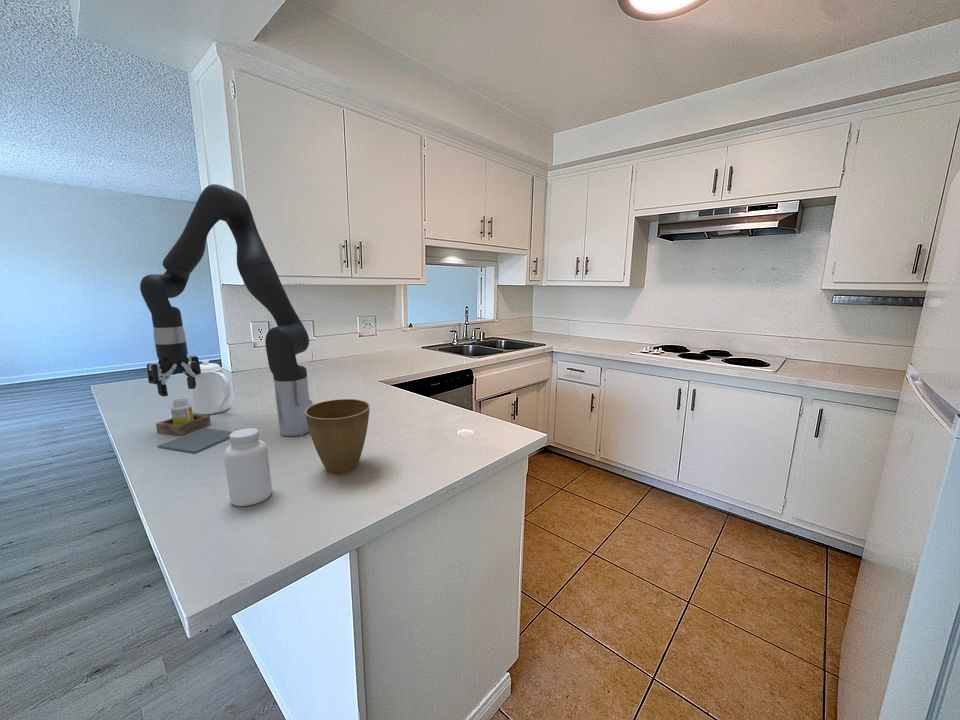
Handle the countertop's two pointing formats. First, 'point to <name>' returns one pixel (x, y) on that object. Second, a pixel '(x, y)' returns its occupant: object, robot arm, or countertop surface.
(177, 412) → the supplement bottle
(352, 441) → the plant pot
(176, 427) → the collar holder
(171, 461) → the countertop surface
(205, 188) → the robot arm
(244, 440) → the pill bottle
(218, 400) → the coffeepot
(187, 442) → the rubber mat
